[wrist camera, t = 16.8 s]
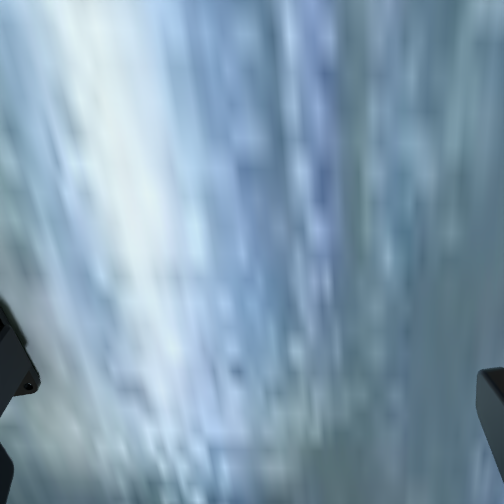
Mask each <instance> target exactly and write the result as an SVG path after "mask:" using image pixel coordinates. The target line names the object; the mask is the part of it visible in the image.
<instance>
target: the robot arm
mask: <svg viewBox="0 0 504 504" xmlns="http://www.w3.org/2000/svg"><path fill="white" fill-rule="evenodd" d="M28 383H29V384H28ZM30 384H31V385H30ZM40 384H41V381H40V379H39V377H38V375H37V373H36V371H35V369H34V368H33V366H32V364H31V362H30V360H29V358H28V356H27V354H26V352H25V351H24V349H23V347H22V345H21V343H20V341H19V339H18V338H17V336H16V334H15V332H14V330H13V328H12V327H11V325H10V323H9V321H8V320H7V318H6V316H5V314H4V312H3V310H2V309H1V307H0V417H1V415H2V414H3V412H4V410H5V409H6V407H7V405H8V404H9V402H10V400H11V399H12V397H13V396H20V395H26V394H32V393H35V392H36V391H37V390H38V388H39V387H40ZM476 410H477V414H478V417H479V420H480V422H481V425H482V428H483V430H484V433H485V435H486V438H487V441H488V443H489V446H490V448H491V451H492V454H493V456H494V459H495V461H496V464H497V467H498V469H499V472H500V475H501V477H502V480H503V482H504V368H503V367H497V368H489V369H482V370H480V371H479V372H478V374H477V386H476ZM13 475H14V464H13V461H12V459H11V458H10V456H9V454H8V453H7V451H6V450H5V448H4V447H3V445H2V444H1V442H0V504H6V502H7V498H8V494H9V491H10V487H11V483H12V479H13Z"/></svg>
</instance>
